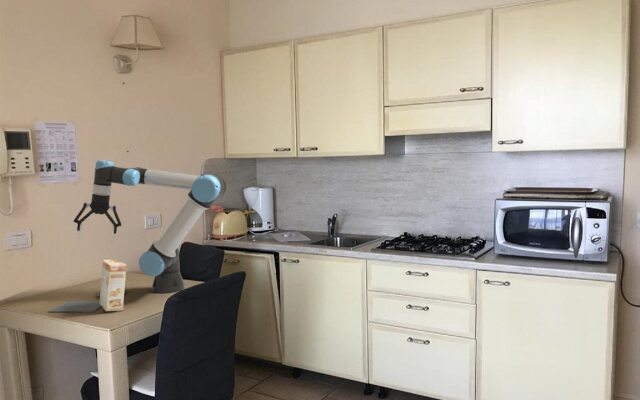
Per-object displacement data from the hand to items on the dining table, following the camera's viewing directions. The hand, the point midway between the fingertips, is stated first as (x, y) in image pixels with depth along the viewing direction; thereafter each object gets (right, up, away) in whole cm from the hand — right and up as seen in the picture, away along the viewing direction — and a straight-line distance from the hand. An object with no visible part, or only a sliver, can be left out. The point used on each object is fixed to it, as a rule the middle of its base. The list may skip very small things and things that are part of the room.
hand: (95, 239), depth 238 cm
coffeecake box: (+14, -28, -16) cm, 35 cm away
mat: (-1, -29, -13) cm, 32 cm away
